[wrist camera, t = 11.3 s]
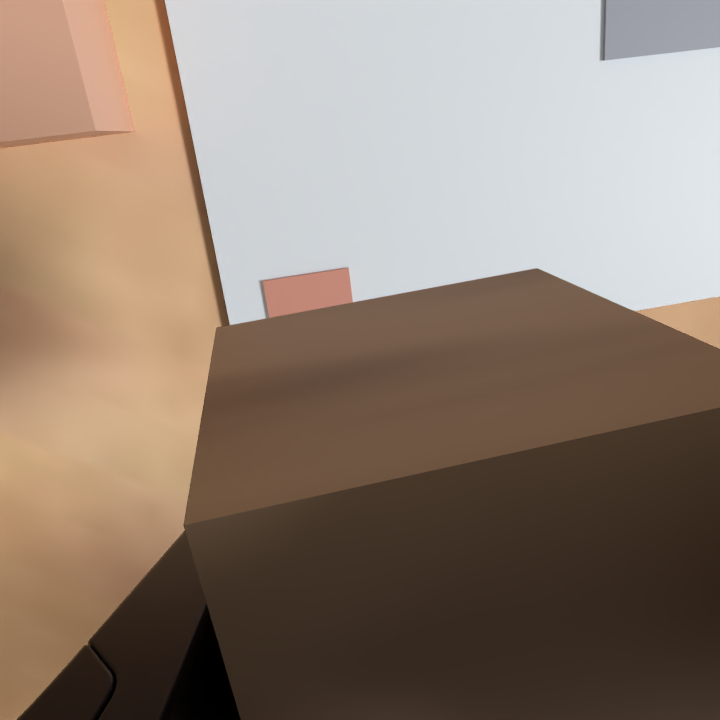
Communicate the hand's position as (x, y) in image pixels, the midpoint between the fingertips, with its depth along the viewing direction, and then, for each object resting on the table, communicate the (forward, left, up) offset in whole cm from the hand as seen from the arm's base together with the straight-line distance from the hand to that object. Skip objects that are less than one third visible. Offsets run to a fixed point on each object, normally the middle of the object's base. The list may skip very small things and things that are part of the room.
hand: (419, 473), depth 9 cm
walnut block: (0, 0, -1) cm, 1 cm away
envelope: (+4, -6, -11) cm, 13 cm away
